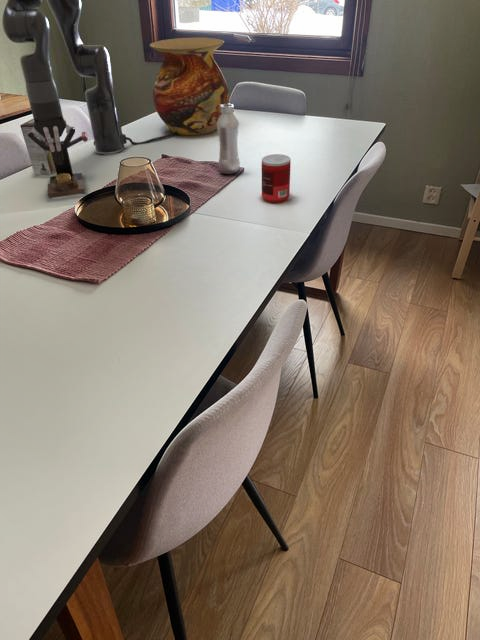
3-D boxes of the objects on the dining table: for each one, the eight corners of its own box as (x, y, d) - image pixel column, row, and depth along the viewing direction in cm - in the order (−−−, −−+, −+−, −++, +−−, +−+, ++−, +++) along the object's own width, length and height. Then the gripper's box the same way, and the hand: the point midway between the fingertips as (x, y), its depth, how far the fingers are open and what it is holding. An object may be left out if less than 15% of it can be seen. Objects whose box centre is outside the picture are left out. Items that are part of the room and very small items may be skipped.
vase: (189, 115, 214) (183, 35, 196) (244, 124, 200) (242, 39, 182) (142, 132, 195) (129, 45, 177) (198, 144, 181) (191, 51, 163)
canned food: (292, 193, 141) (293, 155, 135) (285, 205, 135) (286, 164, 129) (266, 191, 143) (266, 152, 137) (258, 202, 137) (257, 162, 131)
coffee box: (48, 167, 165) (35, 116, 156) (66, 168, 164) (54, 117, 155) (34, 177, 158) (19, 124, 149) (52, 178, 157) (38, 125, 148)
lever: (88, 136, 150) (84, 129, 149) (89, 141, 146) (85, 134, 145) (57, 153, 150) (52, 146, 149) (57, 158, 146) (52, 151, 145)
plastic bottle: (218, 169, 159) (214, 103, 147) (239, 168, 159) (237, 102, 147) (219, 177, 154) (215, 108, 142) (241, 175, 154) (239, 107, 142)
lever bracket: (82, 176, 158) (74, 138, 151) (83, 185, 151) (74, 145, 144) (51, 180, 156) (41, 141, 149) (50, 189, 149) (40, 149, 142)
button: (71, 178, 146) (70, 172, 145) (71, 183, 143) (70, 177, 142) (57, 180, 145) (55, 174, 144) (57, 184, 142) (55, 178, 141)
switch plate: (84, 186, 151) (81, 173, 148) (85, 196, 144) (82, 182, 142) (49, 190, 148) (46, 177, 146) (49, 200, 142) (45, 187, 140)
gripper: (16, 104, 127) (34, 171, 137) (69, 99, 129) (84, 165, 140) (18, 97, 132) (35, 162, 143) (69, 93, 135) (83, 157, 146)
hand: (59, 163), depth 141 cm, fingers closed
